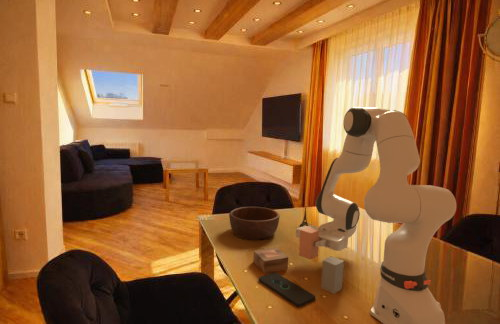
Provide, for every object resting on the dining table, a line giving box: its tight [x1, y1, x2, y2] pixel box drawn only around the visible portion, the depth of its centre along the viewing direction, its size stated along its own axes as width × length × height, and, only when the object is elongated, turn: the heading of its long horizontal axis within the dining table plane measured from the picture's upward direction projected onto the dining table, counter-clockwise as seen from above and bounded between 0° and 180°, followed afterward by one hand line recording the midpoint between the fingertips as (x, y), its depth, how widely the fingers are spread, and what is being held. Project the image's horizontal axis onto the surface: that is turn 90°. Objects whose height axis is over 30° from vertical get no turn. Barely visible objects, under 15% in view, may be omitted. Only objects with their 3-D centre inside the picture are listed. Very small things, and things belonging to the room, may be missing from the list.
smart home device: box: [258, 271, 316, 308], centre depth 107 cm, size 8×2×20 cm
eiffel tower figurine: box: [298, 205, 319, 229], centre depth 169 cm, size 15×10×13 cm
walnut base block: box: [252, 247, 289, 274], centre depth 125 cm, size 10×10×5 cm
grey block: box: [320, 256, 345, 294], centre depth 108 cm, size 5×5×10 cm
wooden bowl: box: [228, 206, 280, 241], centre depth 159 cm, size 25×25×10 cm
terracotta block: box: [298, 227, 319, 260], centre depth 120 cm, size 5×5×10 cm
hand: (307, 242), depth 119 cm, fingers closed on terracotta block, 5 cm apart
